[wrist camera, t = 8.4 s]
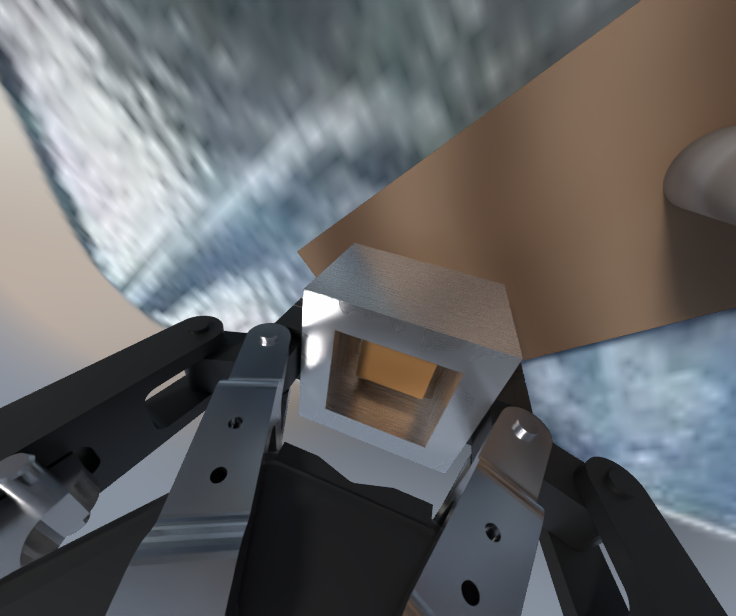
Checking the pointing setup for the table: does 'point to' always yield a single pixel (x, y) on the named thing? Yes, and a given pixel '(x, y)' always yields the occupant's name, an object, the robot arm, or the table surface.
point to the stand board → (580, 191)
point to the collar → (410, 336)
